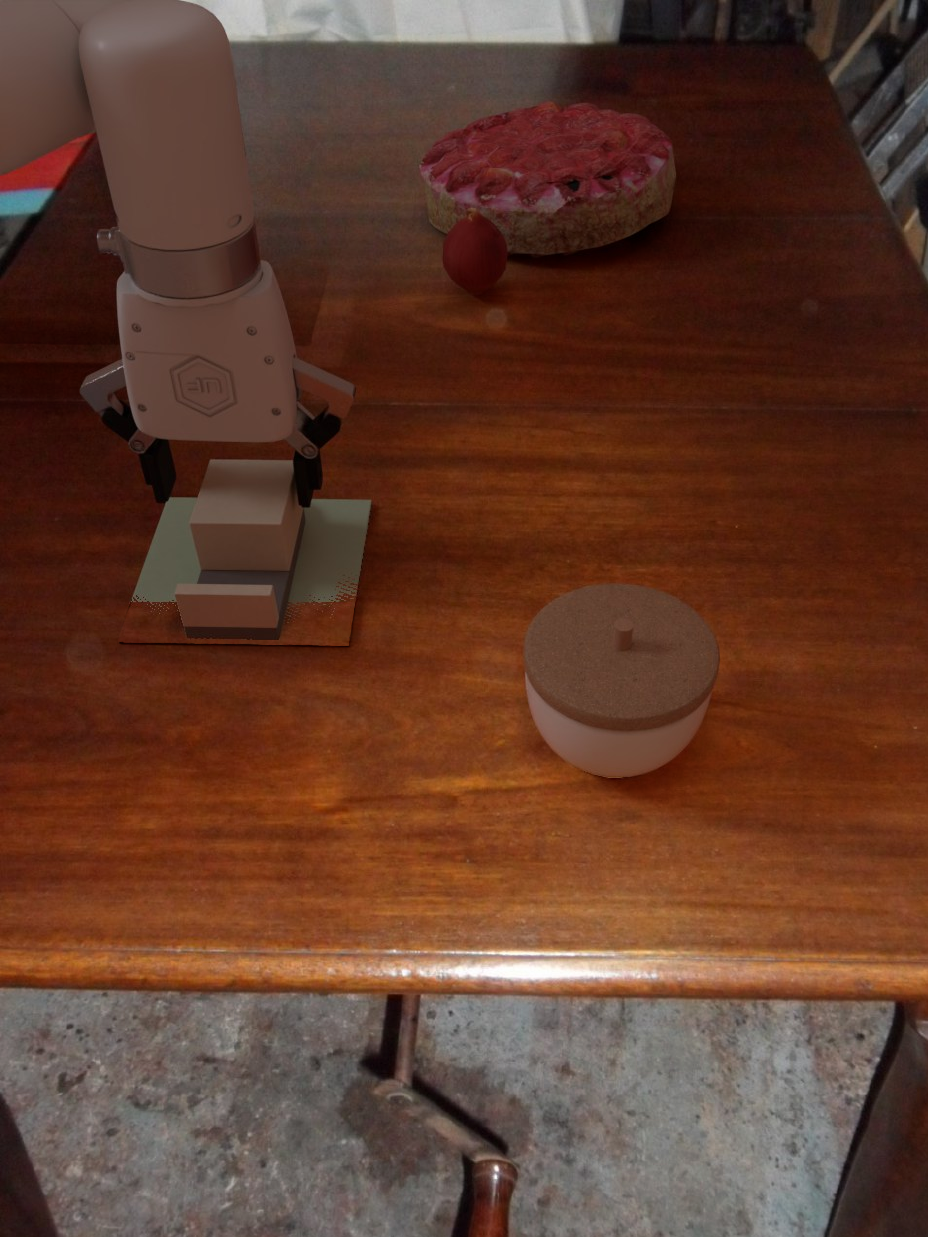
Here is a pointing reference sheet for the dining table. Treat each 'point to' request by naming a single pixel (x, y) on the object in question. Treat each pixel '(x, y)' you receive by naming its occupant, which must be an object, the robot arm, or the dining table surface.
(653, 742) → the trinket box
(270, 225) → the dining table surface
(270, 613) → the block with front tab
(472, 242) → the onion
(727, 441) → the dining table surface
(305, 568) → the mat
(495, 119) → the cake
